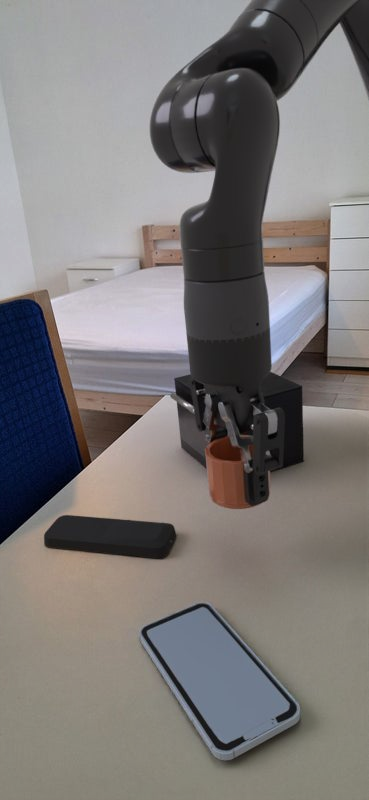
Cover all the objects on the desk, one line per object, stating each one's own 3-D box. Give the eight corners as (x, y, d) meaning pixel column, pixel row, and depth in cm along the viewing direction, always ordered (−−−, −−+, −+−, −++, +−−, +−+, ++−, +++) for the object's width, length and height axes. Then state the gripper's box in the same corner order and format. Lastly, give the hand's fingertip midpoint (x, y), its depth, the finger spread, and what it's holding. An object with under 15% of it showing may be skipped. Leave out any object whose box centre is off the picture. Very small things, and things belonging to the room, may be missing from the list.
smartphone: (206, 598, 56) (306, 711, 43) (207, 606, 57) (306, 721, 44) (134, 629, 53) (218, 759, 41) (136, 637, 54) (219, 769, 41)
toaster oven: (250, 427, 93) (246, 360, 89) (303, 461, 81) (302, 386, 77) (171, 450, 88) (163, 380, 84) (216, 490, 76) (209, 411, 72)
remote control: (42, 550, 68) (166, 559, 64) (39, 537, 68) (163, 545, 63) (62, 526, 73) (179, 533, 68) (59, 514, 72) (177, 519, 67)
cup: (250, 472, 64) (247, 429, 62) (282, 496, 58) (280, 451, 57) (199, 489, 61) (194, 445, 60) (228, 516, 56) (224, 469, 54)
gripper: (310, 332, 49) (314, 508, 55) (224, 304, 61) (235, 450, 67) (231, 351, 46) (244, 534, 52) (157, 318, 58) (175, 469, 64)
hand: (239, 486), depth 60 cm, fingers closed on cup, 6 cm apart
